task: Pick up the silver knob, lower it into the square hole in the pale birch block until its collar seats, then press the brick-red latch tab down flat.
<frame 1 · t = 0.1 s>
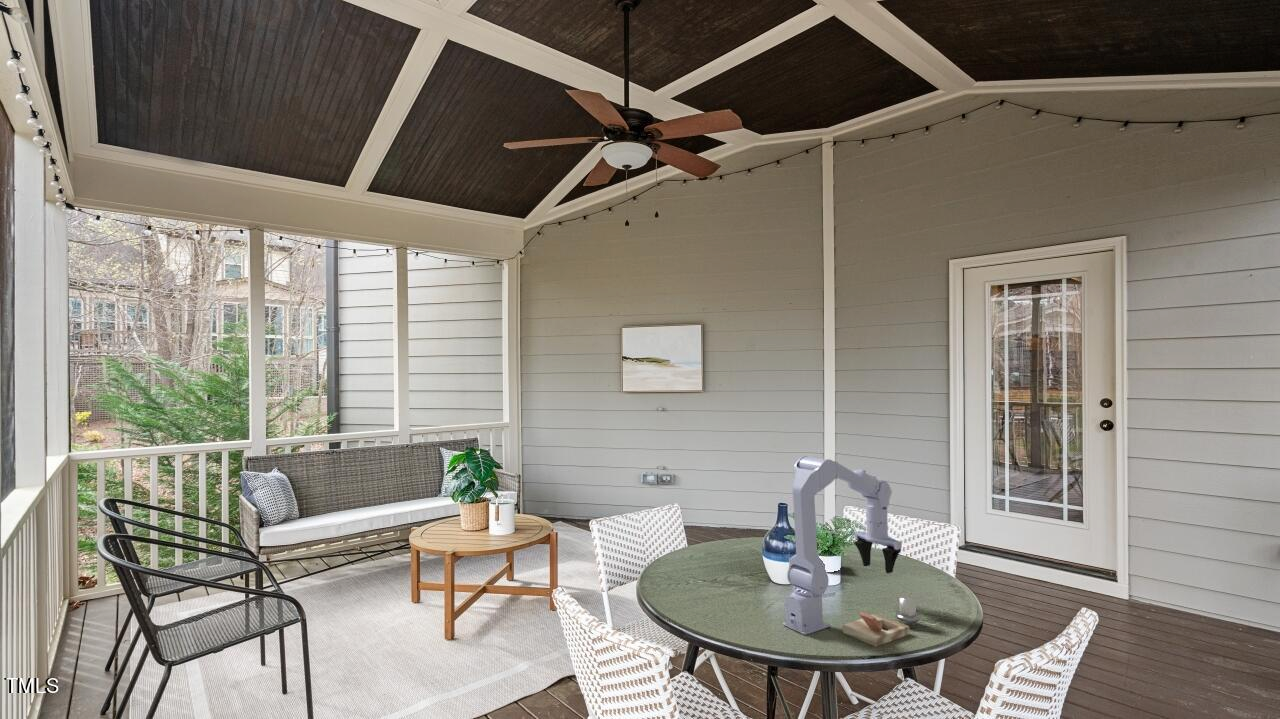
hand: (877, 569, 181), 10 cm above the table, tool pointing down, fingers open, 7 cm apart
silver knob: (907, 624, 166), on the table
latch tab: (870, 621, 159), point 4 cm above the table, hinge at 50.0°
hitch block: (876, 633, 161), on the table
ceramic mug: (825, 569, 213), on the table
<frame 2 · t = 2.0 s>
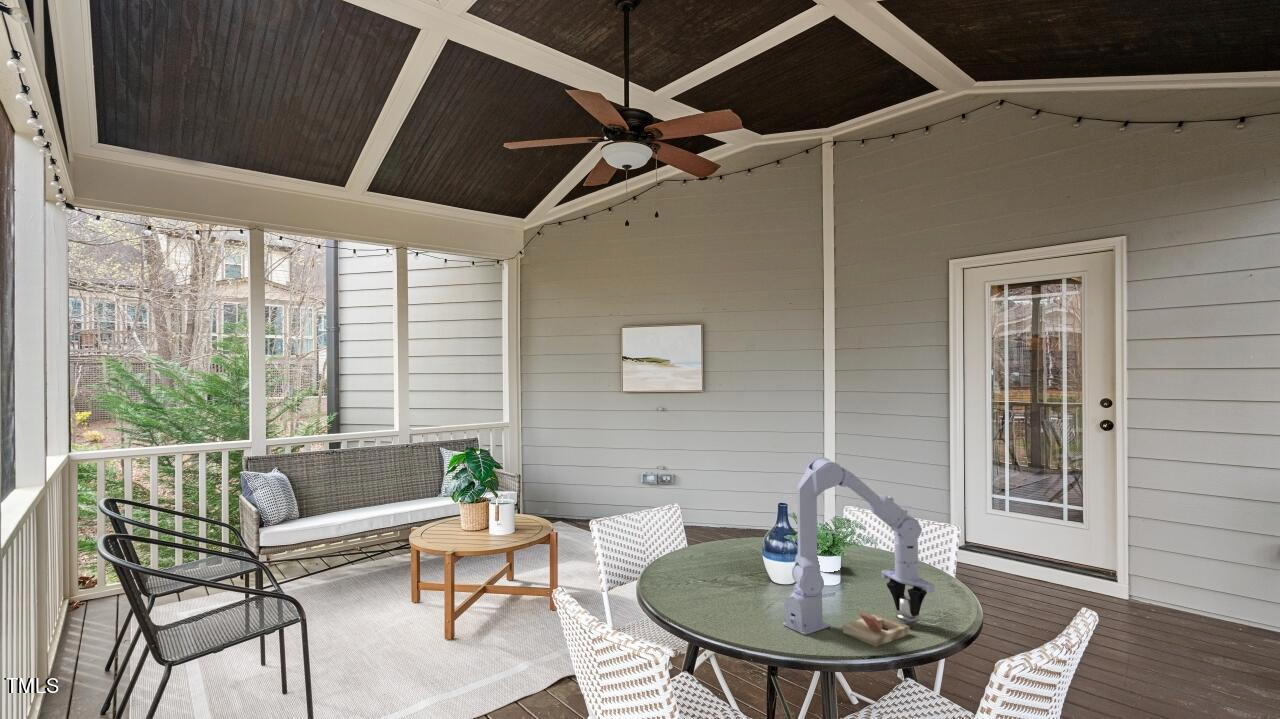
hand: (907, 612, 166), 3 cm above the table, tool pointing down, fingers closed on silver knob, 4 cm apart
silver knob: (907, 624, 166), on the table, touching gripper
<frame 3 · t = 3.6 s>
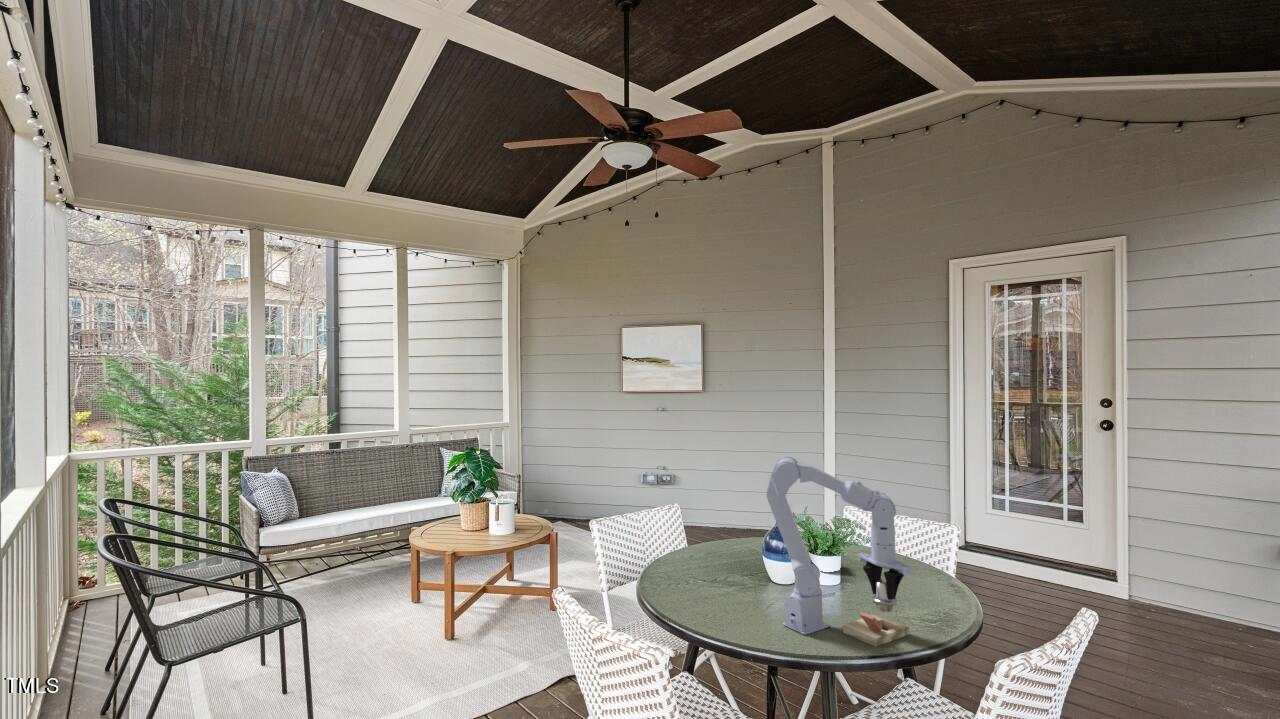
hand: (884, 596, 162), 9 cm above the table, tool pointing down, fingers closed on silver knob, 4 cm apart
silver knob: (884, 608, 162), point 6 cm above the table, touching gripper
when the fingers open (4 cm above the table, at t = 5.2 s): silver knob stays where it is, resting on hitch block.
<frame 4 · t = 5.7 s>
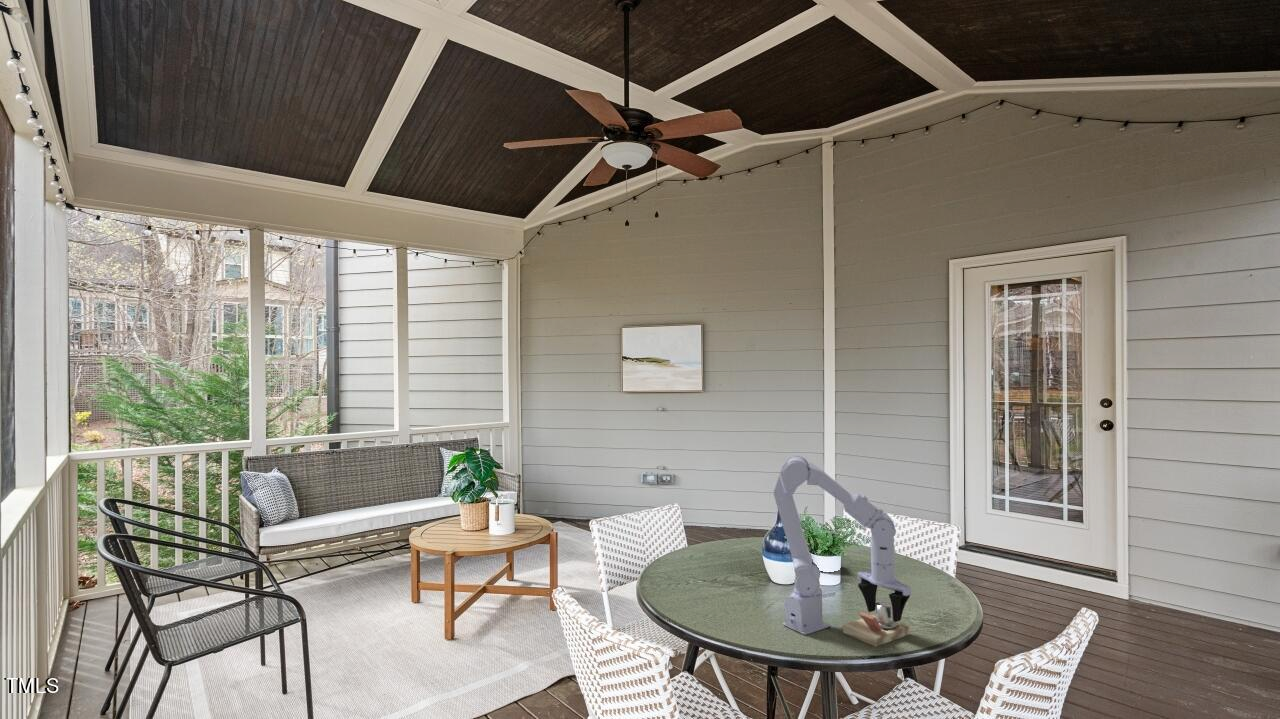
hand: (884, 615, 161), 4 cm above the table, tool pointing down, fingers open, 7 cm apart
silver knob: (884, 632, 161), resting on hitch block
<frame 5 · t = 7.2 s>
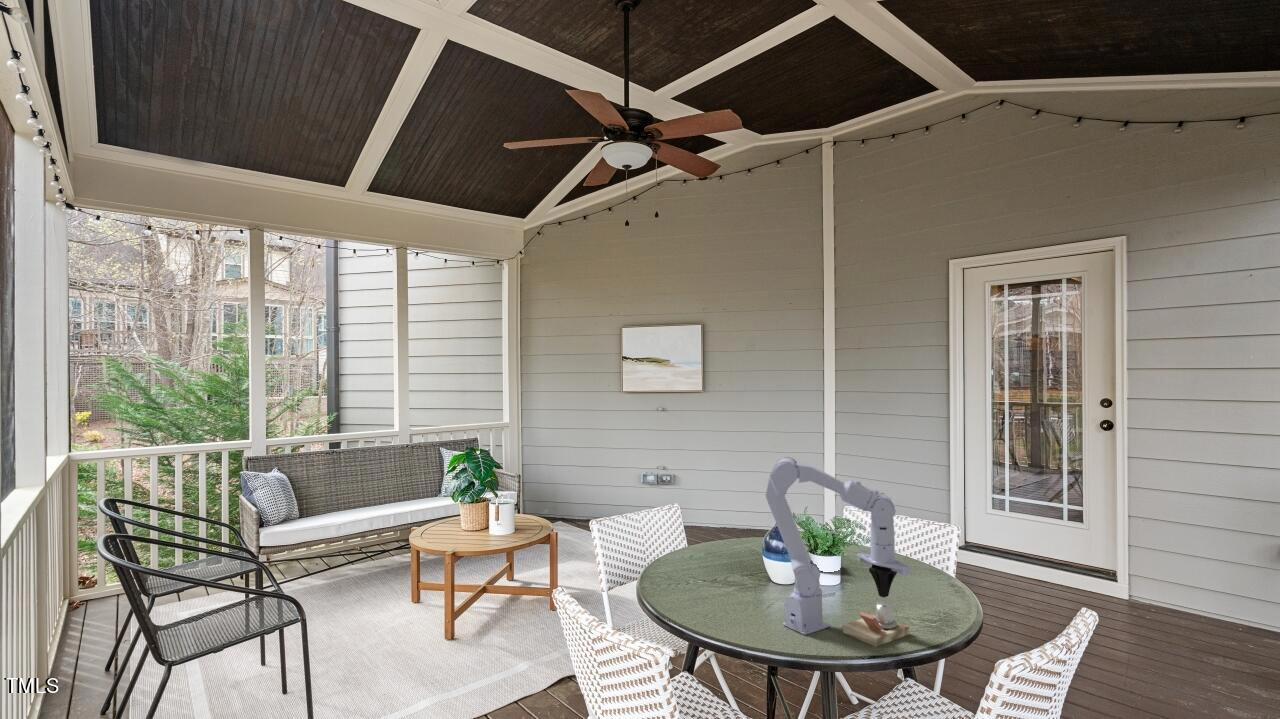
hand: (883, 596, 161), 9 cm above the table, tool pointing down, fingers closed
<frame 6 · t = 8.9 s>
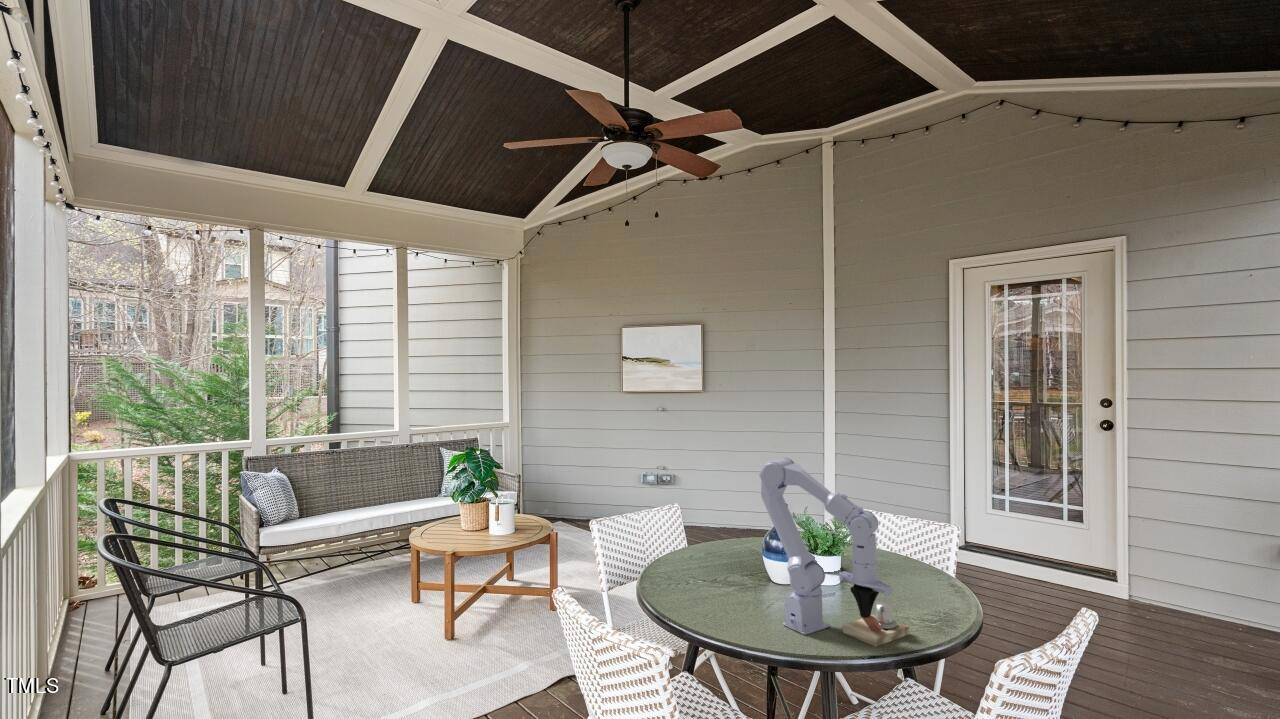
hand: (865, 616, 157), 6 cm above the table, tool pointing down, fingers closed, pressing on latch tab
latch tab: (870, 621, 159), point 4 cm above the table, hinge at 49.9°, touching gripper
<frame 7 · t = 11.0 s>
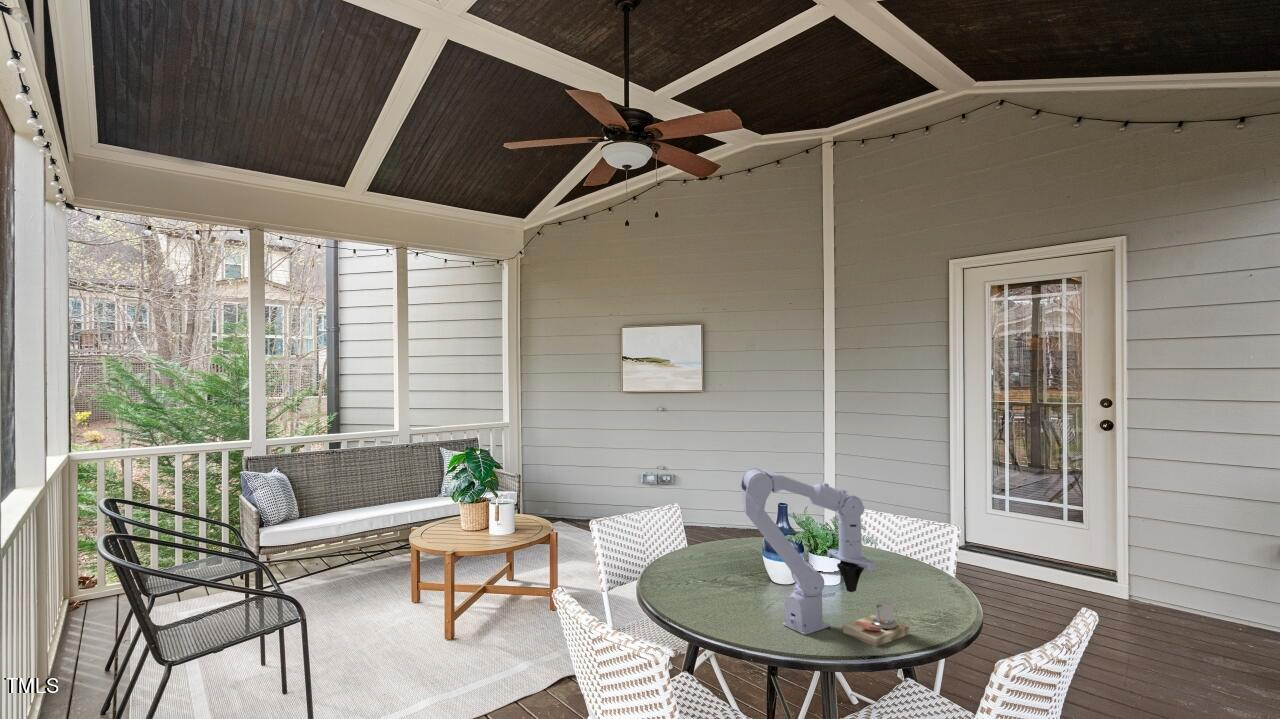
hand: (851, 590, 167), 9 cm above the table, tool pointing down, fingers closed
latch tab: (868, 626, 158), point 3 cm above the table, hinge at 16.6°
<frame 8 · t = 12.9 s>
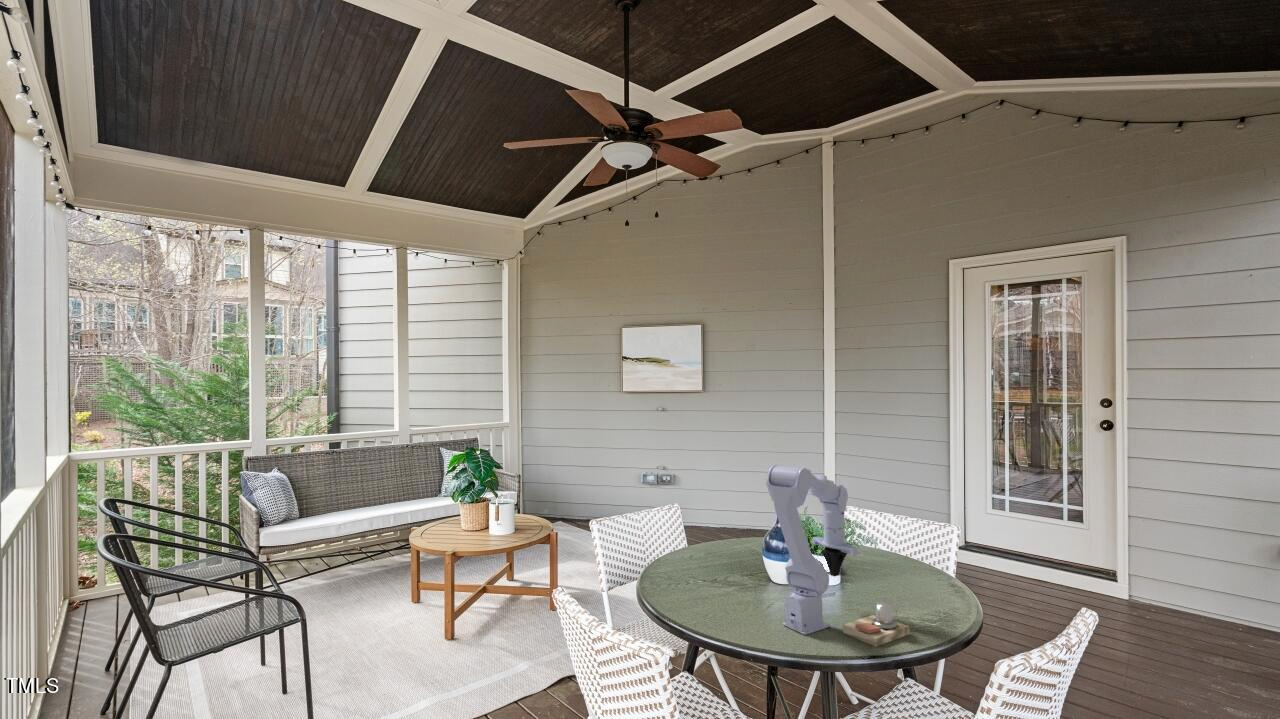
hand: (834, 575, 178), 9 cm above the table, tool pointing down, fingers closed
latch tab: (867, 627, 158), point 3 cm above the table, hinge at 6.0°
at the end: silver knob 0.2 cm from the target spot on the hitch block, point 0.2 cm above the hitch block's base; silver knob tilted 0°; latch tab at +6° (first picture: +50°) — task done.
